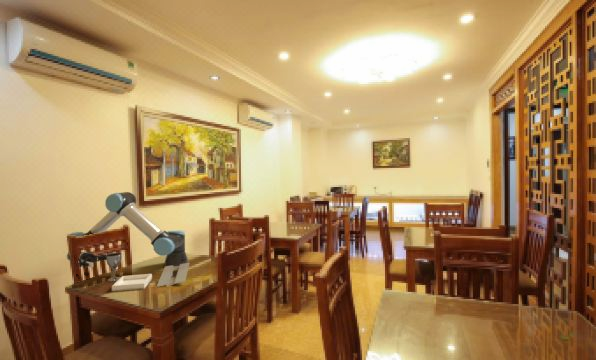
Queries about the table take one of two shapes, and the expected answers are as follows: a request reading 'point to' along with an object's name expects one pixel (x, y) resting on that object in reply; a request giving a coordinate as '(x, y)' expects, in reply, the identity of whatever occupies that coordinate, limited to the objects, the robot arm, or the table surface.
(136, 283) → the tray
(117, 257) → the silver metal goblet
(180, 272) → the grey display stand
